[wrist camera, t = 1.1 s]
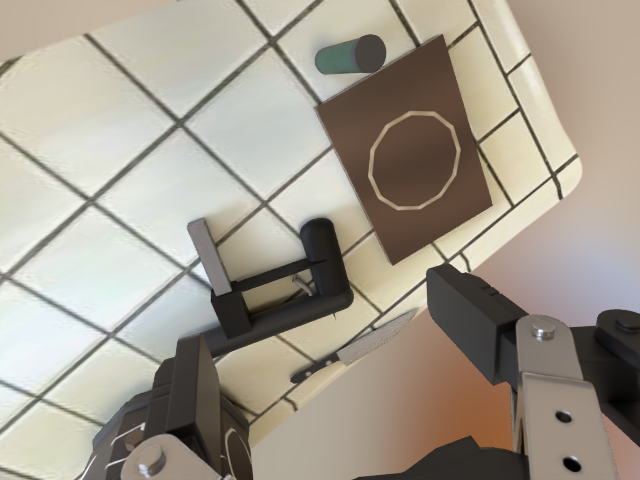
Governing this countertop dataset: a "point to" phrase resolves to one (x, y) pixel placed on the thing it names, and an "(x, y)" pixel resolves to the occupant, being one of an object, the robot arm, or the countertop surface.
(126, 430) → the coffee canister
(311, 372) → the chef's knife
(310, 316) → the door handle
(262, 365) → the countertop surface
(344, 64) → the marker
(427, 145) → the drawing board
